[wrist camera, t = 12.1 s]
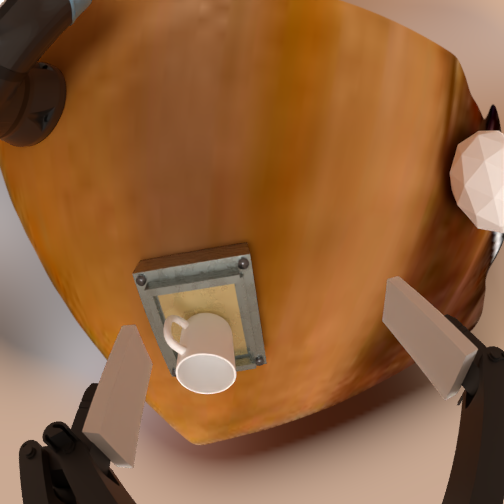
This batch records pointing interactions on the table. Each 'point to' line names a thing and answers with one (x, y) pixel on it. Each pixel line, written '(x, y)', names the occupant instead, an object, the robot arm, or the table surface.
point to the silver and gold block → (204, 297)
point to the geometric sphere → (480, 179)
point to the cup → (203, 352)
